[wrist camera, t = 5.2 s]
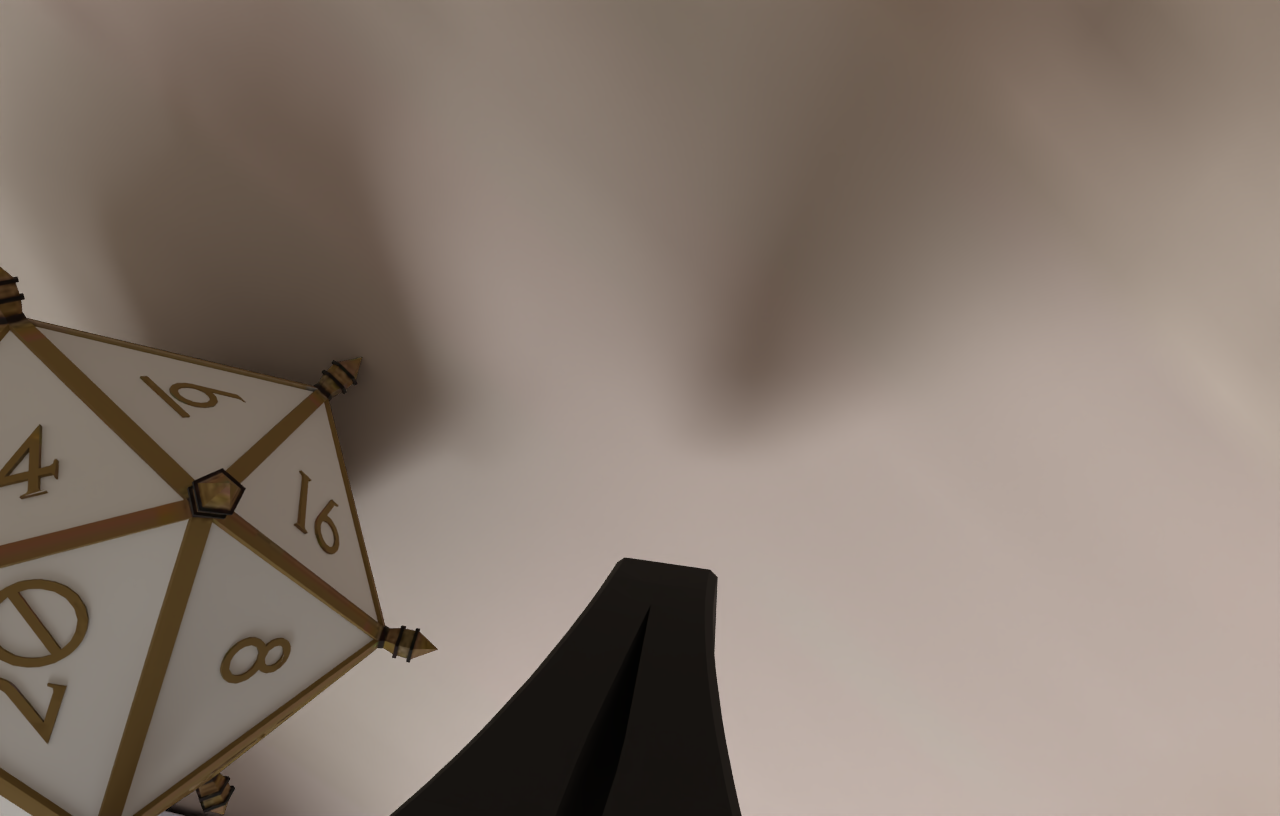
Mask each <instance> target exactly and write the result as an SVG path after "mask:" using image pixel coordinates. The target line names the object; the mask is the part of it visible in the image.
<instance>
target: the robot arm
mask: <svg viewBox="0 0 1280 816" xmlns="http://www.w3.org/2000/svg"><path fill="white" fill-rule="evenodd" d="M717 579H718V577H717V576H716V575H715V574H714V573H713V572H712V571H711V570H708V569H701V568H694V567H687V566H680V565H673V564H667V563H660V562H653V561H646V560H639V559H632V558H623V559H622V560H620V561H619V562H617V564H616V565H615V567H614V568H613V570H612V571H611V573H610V574H609V576H608V577H607V579H606V580H605V582H604V583H603V585H602V586H601V588H600V589H599V590H598V592H597V593H596V595H595V596H594V597H593V599H592V600H591V602H590V603H589V604H588V606H587V607H586V608H585V610H584V611H583V612H582V614H581V615H580V616H579V618H578V619H577V620H576V622H575V623H574V624H573V625H572V627H571V628H570V629H569V631H568V632H567V633H566V634H565V636H564V637H563V638H562V639H561V640H560V642H559V643H558V644H557V645H556V647H555V648H554V649H553V650H552V651H551V653H550V654H549V655H548V656H547V658H546V659H545V660H544V661H543V662H542V664H541V665H540V666H539V667H538V668H537V670H536V671H535V672H534V673H533V674H532V675H531V677H530V678H529V679H528V680H527V681H526V682H525V683H524V685H523V686H522V687H521V688H520V689H519V690H518V691H517V692H516V693H515V694H514V695H513V697H512V698H511V699H510V700H509V701H508V702H507V703H506V704H505V705H504V706H503V707H502V709H501V710H500V711H499V712H498V713H497V714H496V715H495V716H494V717H493V718H492V719H491V721H490V722H489V723H488V724H487V725H486V726H485V727H484V728H483V729H482V730H481V731H480V732H479V733H478V734H477V735H476V736H475V737H474V738H473V739H472V740H471V741H470V742H469V743H468V744H467V745H466V746H465V747H464V748H463V749H462V750H461V751H460V752H459V753H458V754H457V755H456V756H455V757H454V758H453V759H452V760H451V761H450V762H449V763H448V764H447V765H445V766H444V767H443V768H442V769H441V770H440V771H439V772H438V773H437V774H436V775H435V776H434V777H433V778H432V779H431V780H430V781H428V782H427V783H426V784H425V785H424V786H423V787H422V788H421V789H420V790H419V791H417V792H416V793H415V794H414V795H413V796H412V797H411V798H409V799H408V800H407V801H406V802H405V803H404V804H402V805H401V806H400V807H399V808H398V809H397V810H396V811H394V812H393V813H392V814H391V815H390V816H741V811H740V807H739V803H738V798H737V794H736V789H735V785H734V780H733V775H732V770H731V765H730V760H729V755H728V750H727V745H726V739H725V733H724V727H723V721H722V715H721V707H720V700H719V692H718V685H717V677H716V668H715V657H714V648H715V625H716V602H717ZM158 816H184V815H180V814H176V813H172V812H168V811H164V812H162V813H161V814H159V815H158Z"/></svg>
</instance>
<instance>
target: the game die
mask: <svg viewBox="0 0 1280 816" xmlns="http://www.w3.org/2000/svg"><path fill="white" fill-rule="evenodd" d="M16 282H19V280H18V278H17V277H12V276H11V275H10V274H8V273H7V272H6V271H5V270H3V269H2V268H1V267H0V816H158V815H159V814H161V813H162V812H164V811H165V810H166V809H168V808H169V807H171V806H172V805H174V804H175V803H177V802H178V801H180V800H181V799H183V798H184V797H186V796H187V795H189V794H190V793H191V792H193V791H194V790H196V791H197V794H198V797H199V800H200V803H201V806H202V809H203V812H204V813H205V812H208V811H211V812H215V813H219V814H223V815H224V813H225V810H226V807H227V804H228V801H229V799H230V797H231V795H232V793H233V791H234V790H235V787H234V786H230V785H229V783H228V782H229V780H230V778H229V777H228V776H223V775H221V774H220V772H221V771H222V770H223V769H225V768H226V767H227V766H228V765H230V764H231V763H232V762H234V761H235V760H236V759H237V758H239V757H240V756H241V755H242V754H244V753H245V752H246V751H248V750H249V749H250V748H251V747H253V746H254V745H255V744H256V743H258V742H259V741H260V740H261V739H263V738H264V737H265V736H267V735H268V734H269V733H270V732H272V731H273V730H274V729H275V728H277V727H278V726H279V725H281V724H282V723H283V722H284V721H286V720H287V719H288V718H289V717H291V716H292V715H293V714H294V713H296V712H297V711H298V710H300V709H301V708H302V707H303V706H305V705H306V704H307V703H308V702H310V701H311V700H312V699H314V698H315V697H316V696H317V695H319V694H320V693H321V692H322V691H324V690H325V689H326V688H327V687H329V686H330V685H331V684H333V683H334V682H335V681H336V680H338V679H339V678H340V677H341V676H343V675H344V674H345V673H347V672H348V671H349V670H350V669H352V668H353V667H354V666H355V665H357V664H358V663H359V662H360V661H362V660H363V659H364V658H366V657H367V656H368V655H369V654H371V653H372V652H373V651H374V650H376V649H377V648H384V649H386V650H387V651H389V652H390V653H392V654H393V656H392V658H396V656H400V657H404V658H407V661H406V662H410V659H412V658H415V657H418V656H421V655H424V654H426V653H429V652H432V651H435V650H438V649H437V648H436V647H435V646H434V645H433V644H432V643H431V642H430V641H429V640H428V639H426V638H425V637H424V636H423V635H422V634H421V633H420V632H419V631H420V629H418V628H416V631H414V630H409V629H406V626H401V628H388V627H387V626H385V623H384V619H383V615H382V611H381V607H380V603H379V599H378V595H377V591H376V587H375V583H374V579H373V575H372V571H371V567H370V563H369V559H368V555H367V551H366V547H365V543H364V539H363V535H362V531H361V527H360V523H359V519H358V515H357V511H356V507H355V503H354V499H353V495H352V491H351V487H350V483H349V479H348V475H347V471H346V467H345V463H344V459H343V455H342V451H341V447H340V443H339V439H338V435H337V431H336V427H335V423H334V419H333V415H332V411H331V407H330V403H329V401H330V400H331V398H332V397H334V396H336V395H338V394H340V393H343V394H345V393H347V391H346V389H347V388H348V387H350V386H351V385H352V384H354V385H357V381H356V377H357V374H358V370H359V367H360V363H361V360H362V357H361V358H356V359H350V360H345V361H340V362H336V361H334V360H333V361H332V362H331V363H332V364H333V365H332V366H331V367H330V368H329V369H328V370H327V371H325V370H323V371H322V373H323V376H322V378H321V379H320V381H319V383H318V384H316V385H314V386H312V385H307V384H303V383H299V382H295V381H290V380H286V379H282V378H278V377H274V376H269V375H265V374H261V373H257V372H252V371H248V370H244V369H240V368H236V367H231V366H227V365H223V364H219V363H214V362H210V361H206V360H202V359H198V358H193V357H189V356H185V355H181V354H176V353H172V352H168V351H164V350H160V349H155V348H151V347H147V346H143V345H138V344H134V343H130V342H126V341H122V340H117V339H113V338H109V337H105V336H100V335H96V334H92V333H88V332H84V331H79V330H75V329H71V328H67V327H62V326H58V325H54V324H50V323H45V322H41V321H37V320H33V319H29V318H26V316H25V315H24V314H23V312H22V304H21V300H24V299H25V298H24V295H23V293H22V294H19V291H18V289H17V286H16Z"/></svg>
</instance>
